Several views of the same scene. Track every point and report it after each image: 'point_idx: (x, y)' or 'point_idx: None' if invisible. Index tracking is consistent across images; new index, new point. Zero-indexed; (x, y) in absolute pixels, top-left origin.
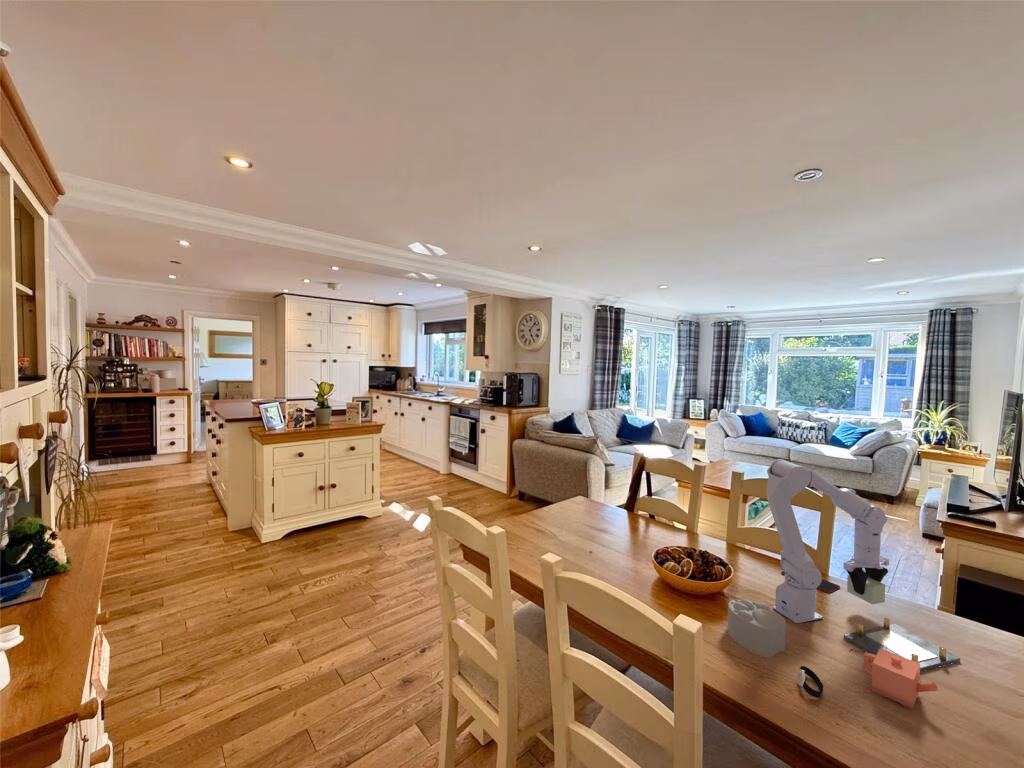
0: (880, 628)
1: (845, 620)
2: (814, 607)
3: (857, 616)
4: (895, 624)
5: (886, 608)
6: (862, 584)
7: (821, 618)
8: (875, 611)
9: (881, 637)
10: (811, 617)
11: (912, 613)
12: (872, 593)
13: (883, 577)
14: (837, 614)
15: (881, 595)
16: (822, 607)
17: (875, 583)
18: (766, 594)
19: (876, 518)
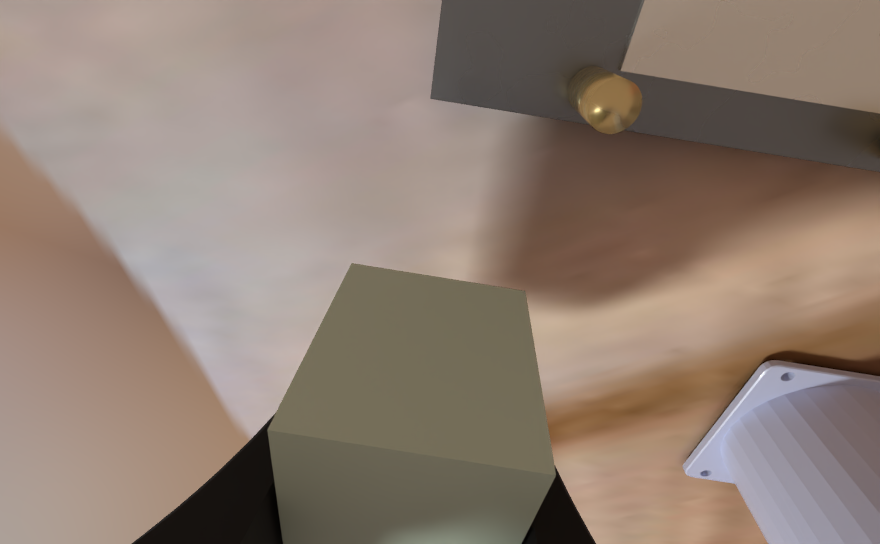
0: (643, 112)
1: (658, 293)
2: (864, 442)
3: (524, 285)
4: (440, 89)
5: (221, 255)
6: (591, 538)
7: (784, 361)
8: (336, 266)
9: (862, 9)
10: (861, 389)
11: (83, 144)
12: (540, 384)
13: (142, 541)
14: (615, 344)
15: (384, 323)
16: (601, 406)
17: (382, 491)
18: (704, 540)
19: None
